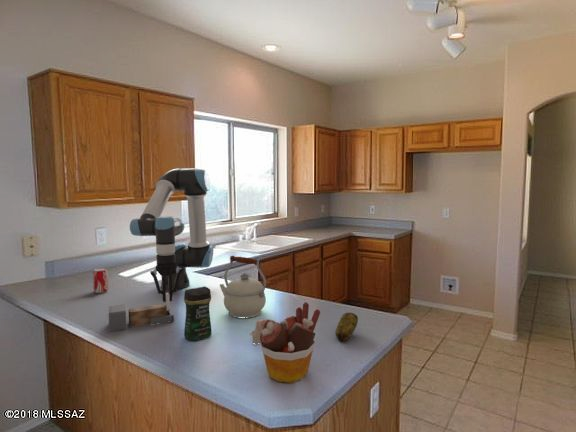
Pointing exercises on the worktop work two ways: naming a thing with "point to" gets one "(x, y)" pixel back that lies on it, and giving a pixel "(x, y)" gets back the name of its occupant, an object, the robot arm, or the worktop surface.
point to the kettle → (244, 292)
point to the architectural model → (255, 336)
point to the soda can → (100, 280)
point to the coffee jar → (197, 313)
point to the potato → (346, 326)
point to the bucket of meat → (288, 345)
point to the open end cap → (163, 318)
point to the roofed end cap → (117, 317)
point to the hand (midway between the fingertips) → (167, 308)
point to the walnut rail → (146, 314)
